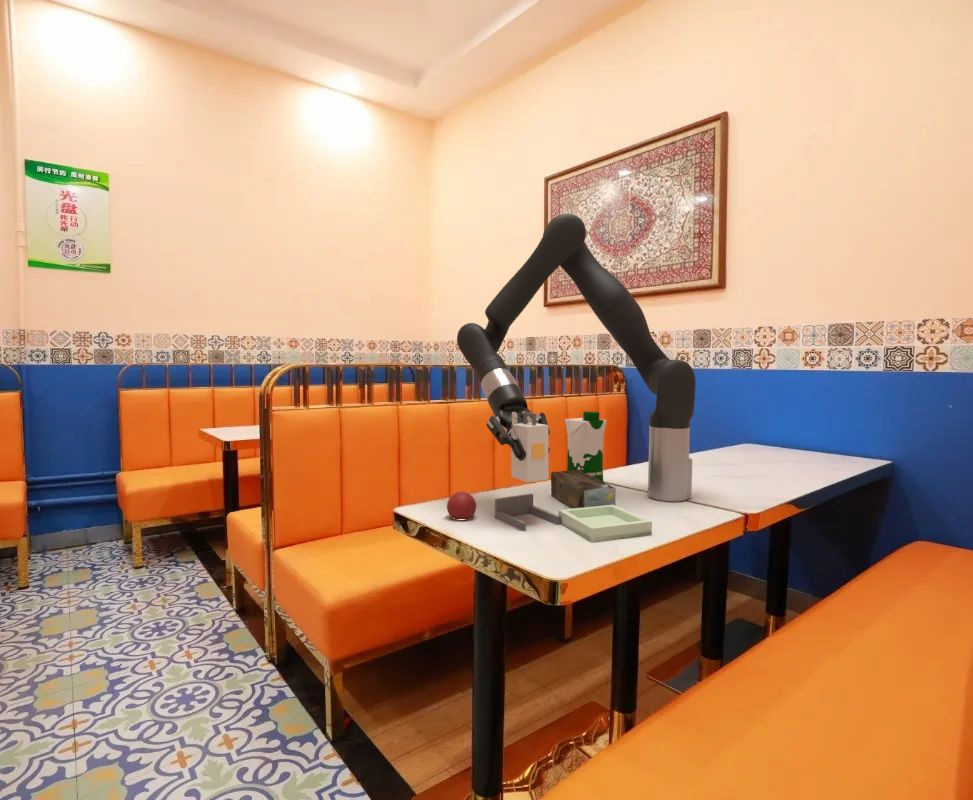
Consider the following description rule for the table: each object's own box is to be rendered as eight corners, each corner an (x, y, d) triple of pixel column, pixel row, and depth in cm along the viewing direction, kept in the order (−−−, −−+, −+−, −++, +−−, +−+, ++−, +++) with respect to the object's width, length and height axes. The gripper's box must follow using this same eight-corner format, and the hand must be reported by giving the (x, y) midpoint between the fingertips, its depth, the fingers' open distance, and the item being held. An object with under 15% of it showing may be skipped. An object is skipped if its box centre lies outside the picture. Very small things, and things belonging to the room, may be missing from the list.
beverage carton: (582, 517, 113) (583, 486, 113) (549, 496, 132) (549, 469, 131) (616, 514, 115) (617, 484, 115) (579, 494, 134) (579, 468, 133)
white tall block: (531, 474, 113) (531, 411, 112) (548, 479, 108) (548, 413, 107) (511, 476, 110) (511, 412, 109) (528, 482, 105) (527, 414, 104)
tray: (613, 516, 113) (613, 504, 113) (651, 534, 101) (651, 521, 101) (558, 522, 109) (558, 510, 109) (591, 542, 97) (591, 528, 97)
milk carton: (583, 493, 133) (584, 413, 132) (560, 486, 141) (560, 410, 139) (609, 489, 138) (610, 412, 137) (584, 482, 146) (585, 409, 144)
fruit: (451, 531, 110) (459, 502, 106) (441, 511, 114) (449, 483, 110) (478, 526, 112) (487, 498, 108) (467, 507, 117) (475, 480, 113)
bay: (531, 511, 117) (531, 493, 116) (560, 523, 108) (560, 504, 107) (494, 517, 112) (495, 498, 112) (522, 530, 103) (522, 510, 103)
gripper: (480, 383, 111) (511, 448, 101) (537, 381, 118) (571, 442, 108) (468, 407, 116) (497, 471, 106) (524, 403, 123) (555, 464, 113)
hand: (534, 456), depth 107 cm, fingers closed on white tall block, 5 cm apart
